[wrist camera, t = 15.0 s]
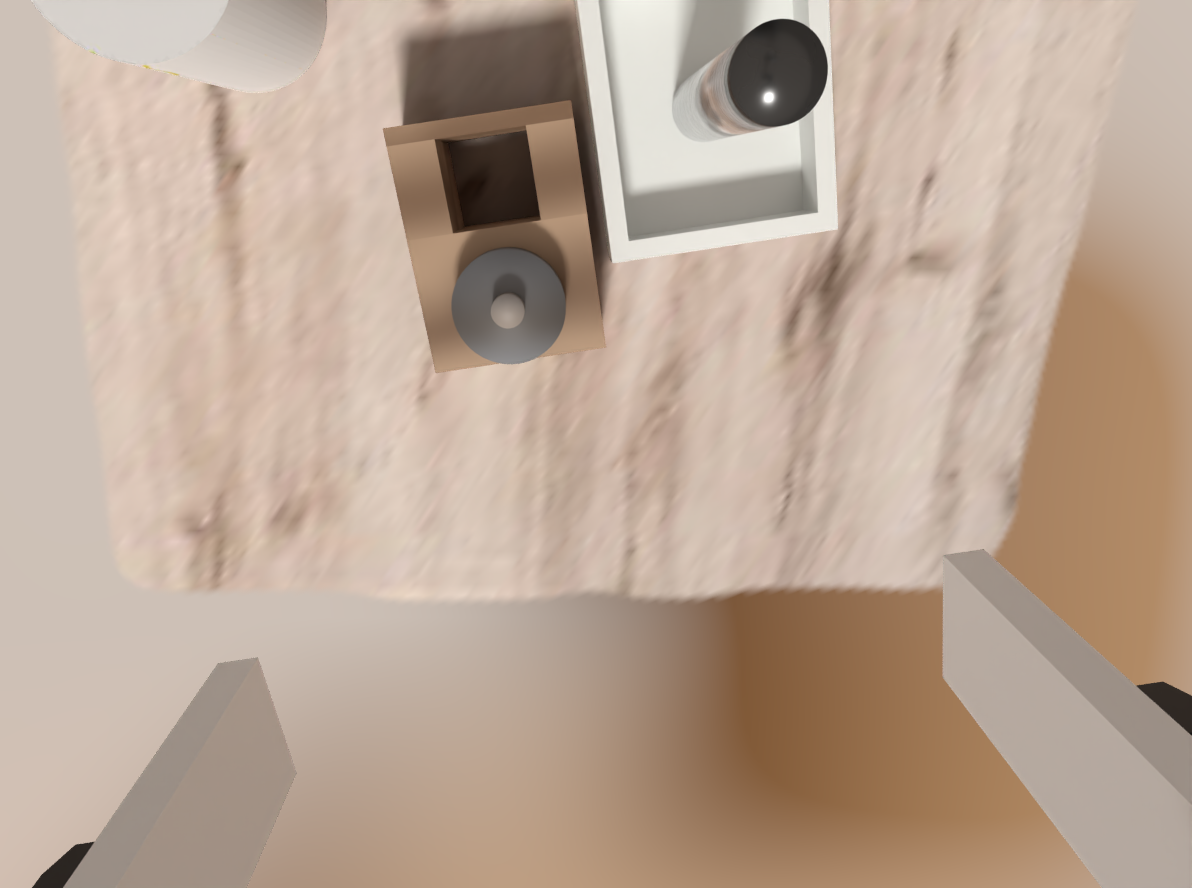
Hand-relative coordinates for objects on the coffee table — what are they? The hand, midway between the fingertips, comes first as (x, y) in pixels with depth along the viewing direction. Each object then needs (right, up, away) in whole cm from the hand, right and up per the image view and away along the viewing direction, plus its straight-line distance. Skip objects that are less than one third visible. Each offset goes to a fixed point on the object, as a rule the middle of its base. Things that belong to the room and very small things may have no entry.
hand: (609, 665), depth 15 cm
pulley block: (-5, +16, +29) cm, 33 cm away
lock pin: (+5, +22, +27) cm, 35 cm away
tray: (+5, +22, +27) cm, 36 cm away
